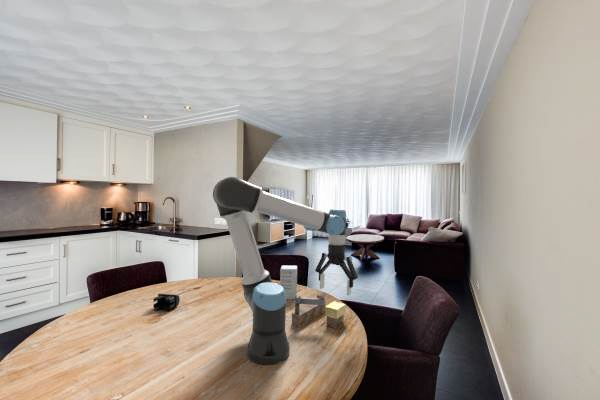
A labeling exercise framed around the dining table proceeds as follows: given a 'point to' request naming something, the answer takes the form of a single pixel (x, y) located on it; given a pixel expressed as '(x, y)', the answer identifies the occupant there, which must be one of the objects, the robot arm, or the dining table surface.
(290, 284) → the supplement box
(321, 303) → the lever
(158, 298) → the end cap
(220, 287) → the dining table surface
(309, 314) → the body
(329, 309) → the gold metallic block
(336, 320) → the block
